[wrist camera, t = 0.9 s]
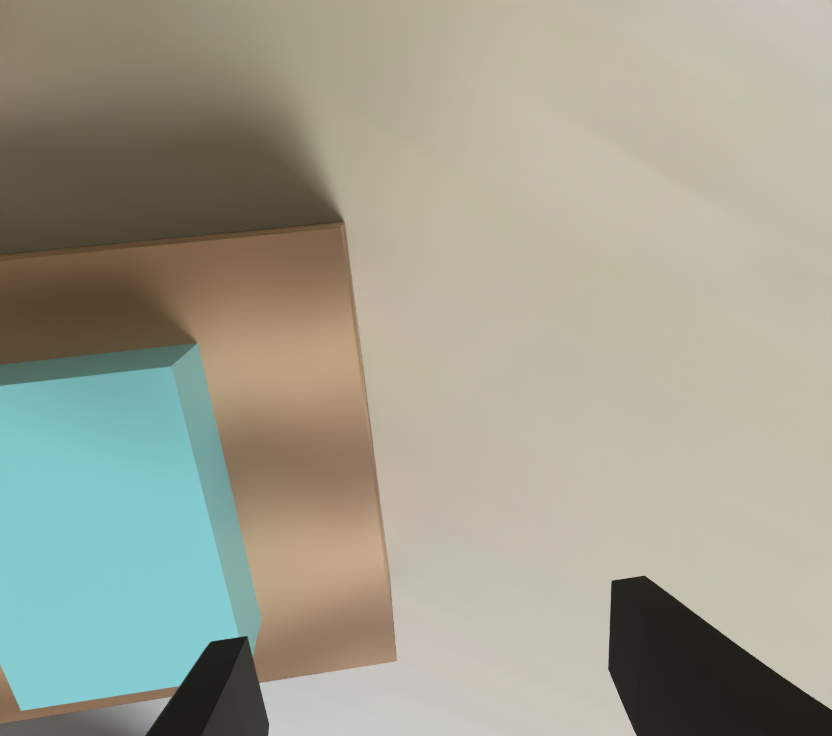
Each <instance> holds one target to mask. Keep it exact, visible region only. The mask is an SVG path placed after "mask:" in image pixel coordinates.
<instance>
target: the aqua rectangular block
mask: <svg viewBox="0 0 832 736" xmlns="http://www.w3.org/2000/svg"><path fill="white" fill-rule="evenodd" d="M260 624H261V616H260V611H259V607H258V603H257V598H256V594H255V590H254V585H253V581H252V577H251V572H250V568H249V564H248V559H247V555H246V551H245V546H244V542H243V537H242V533H241V529H240V524H239V520H238V516H237V511H236V507H235V503H234V498H233V494H232V490H231V485H230V481H229V477H228V472H227V468H226V463H225V459H224V455H223V450H222V446H221V442H220V437H219V433H218V429H217V424H216V420H215V416H214V411H213V407H212V403H211V398H210V394H209V389H208V385H207V381H206V376H205V372H204V368H203V363H202V359H201V355H200V350H199V346H198V343H193V344H184V345H175V346H166V347H157V348H148V349H139V350H130V351H120V352H111V353H102V354H93V355H84V356H75V357H66V358H57V359H48V360H39V361H30V362H21V363H12V364H3V365H0V665H1V667H2V669H3V671H4V674H5V676H6V678H7V680H8V683H9V685H10V687H11V689H12V692H13V694H14V696H15V698H16V701H17V703H18V705H19V707H20V710H21V711H24V710H30V709H36V708H43V707H49V706H56V705H62V704H68V703H75V702H81V701H88V700H94V699H100V698H107V697H113V696H119V695H126V694H132V693H139V692H145V691H151V690H158V689H164V688H171V687H177V686H180V685H181V683H182V682H183V680H184V679H185V677H186V676H187V674H188V673H189V671H190V670H191V668H192V667H193V666H194V664H195V663H196V661H197V660H198V658H199V657H200V655H201V654H202V652H203V651H204V649H205V648H206V647H207V646H208V644H209V643H210V642H211V641H217V640H224V639H231V638H237V637H244V636H248V640H249V644H250V648H251V653H252V657H253V654H254V650H255V645H256V641H257V637H258V632H259V628H260Z"/></svg>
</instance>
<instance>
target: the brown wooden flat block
mask: <svg viewBox="0 0 832 736" xmlns="http://www.w3.org/2000/svg"><path fill="white" fill-rule="evenodd" d="M193 343H198V346H199V350H200V355H201V359H202V363H203V368H204V372H205V376H206V381H207V385H208V389H209V394H210V398H211V403H212V407H213V411H214V416H215V420H216V424H217V429H218V433H219V437H220V442H221V446H222V450H223V455H224V459H225V463H226V468H227V472H228V477H229V481H230V485H231V490H232V494H233V498H234V503H235V507H236V511H237V516H238V520H239V524H240V529H241V533H242V537H243V542H244V546H245V551H246V555H247V559H248V564H249V568H250V572H251V577H252V581H253V585H254V590H255V594H256V598H257V603H258V607H259V611H260V616H261V624H260V628H259V632H258V637H257V641H256V645H255V650H254V654H253V661H254V665H255V669H256V673H257V677H258V681H259V683H261V682H268V681H274V680H280V679H287V678H293V677H299V676H306V675H312V674H318V673H325V672H331V671H337V670H344V669H350V668H356V667H363V666H369V665H375V664H382V663H388V662H394V661H397V659H396V647H395V635H394V622H393V610H392V598H391V586H390V575H389V568H388V560H387V552H386V544H385V536H384V528H383V520H382V513H381V505H380V497H379V489H378V481H377V473H376V465H375V458H374V450H373V442H372V434H371V426H370V418H369V410H368V403H367V395H366V387H365V379H364V371H363V363H362V355H361V348H360V340H359V332H358V324H357V316H356V308H355V300H354V293H353V285H352V277H351V269H350V261H349V253H348V245H347V238H346V230H345V222H335V223H325V224H315V225H304V226H294V227H283V228H273V229H263V230H252V231H242V232H231V233H221V234H210V235H200V236H190V237H179V238H169V239H158V240H148V241H138V242H127V243H117V244H106V245H96V246H85V247H75V248H65V249H54V250H44V251H33V252H23V253H13V254H2V255H0V365H3V364H12V363H21V362H30V361H39V360H48V359H57V358H66V357H75V356H84V355H93V354H102V353H111V352H120V351H130V350H139V349H148V348H157V347H166V346H175V345H184V344H193ZM178 688H179V686H177V687H171V688H164V689H158V690H151V691H145V692H139V693H132V694H126V695H119V696H113V697H107V698H100V699H94V700H88V701H81V702H75V703H68V704H62V705H56V706H49V707H43V708H36V709H30V710H24V711H21V710H20V707H19V705H18V703H17V701H16V698H15V696H14V694H13V692H12V689H11V687H10V685H9V683H8V680H7V678H6V676H5V674H4V671H3V669H2V667H1V665H0V724H2V723H8V722H14V721H21V720H27V719H33V718H40V717H46V716H52V715H59V714H65V713H71V712H78V711H84V710H90V709H97V708H103V707H109V706H116V705H122V704H128V703H135V702H141V701H147V700H154V699H160V698H166V697H173V695H174V694H175V692H176V691H177V689H178Z"/></svg>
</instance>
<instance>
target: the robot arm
mask: <svg viewBox="0 0 832 736" xmlns="http://www.w3.org/2000/svg"><path fill="white" fill-rule="evenodd" d="M608 669H609V672H610V674H611V677H612V679H613V681H614V684H615V686H616V689H617V691H618V694H619V696H620V699H621V701H622V703H623V706H624V708H625V710H626V713H627V715H628V717H629V719H630V722H631V724H632V726H633V729H634V731H635V733H636V735H637V736H832V710H831V709H829V708H828V707H826V706H825V705H823V704H822V703H820V702H819V701H817V700H816V699H814V698H813V697H811V696H810V695H808V694H807V693H805V692H804V691H802V690H801V689H799V688H798V687H796V686H795V685H793V684H792V683H791V682H789V681H788V680H786V679H785V678H783V677H782V676H780V675H779V674H778V673H776V672H775V671H773V670H772V669H770V668H769V667H768V666H766V665H765V664H763V663H762V662H761V661H759V660H758V659H756V658H755V657H754V656H752V655H751V654H749V653H748V652H747V651H745V650H744V649H742V648H741V647H740V646H738V645H737V644H736V643H734V642H733V641H731V640H730V639H729V638H727V637H726V636H725V635H723V634H722V633H721V632H719V631H718V630H717V629H715V628H714V627H713V626H711V625H710V624H709V623H707V622H706V621H705V620H703V619H702V618H701V617H699V616H698V615H696V614H695V613H694V612H693V611H691V610H690V609H689V608H687V607H686V606H685V605H683V604H682V603H681V602H679V601H678V600H677V599H675V598H674V597H673V596H671V595H670V594H669V593H667V592H666V591H665V590H663V589H662V588H661V587H659V586H658V585H657V584H655V583H654V582H653V581H651V580H650V579H648V578H647V577H646V576H640V577H633V578H627V579H620V580H614V581H612V585H611V612H610V639H609V666H608ZM268 731H269V722H268V718H267V714H266V710H265V706H264V702H263V698H262V694H261V689H260V685H259V681H258V677H257V673H256V669H255V665H254V661H253V657H252V653H251V648H250V644H249V640H248V636H244V637H237V638H231V639H224V640H217V641H211V642H210V643H209V644H208V646H207V647H206V648H205V649H204V651H203V652H202V654H201V655H200V657H199V658H198V660H197V661H196V663H195V664H194V666H193V667H192V668H191V670H190V671H189V673H188V674H187V676H186V677H185V679H184V680H183V682H182V683H181V685H180V686H179V688H178V689H177V691H176V692H175V694H174V695H173V697H172V698H171V699H170V701H169V702H168V704H167V705H166V707H165V708H164V710H163V711H162V712H161V714H160V715H159V717H158V718H157V720H156V721H155V723H154V724H153V725H152V727H151V728H150V730H149V731H148V732H147V734H146V735H145V736H268Z"/></svg>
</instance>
